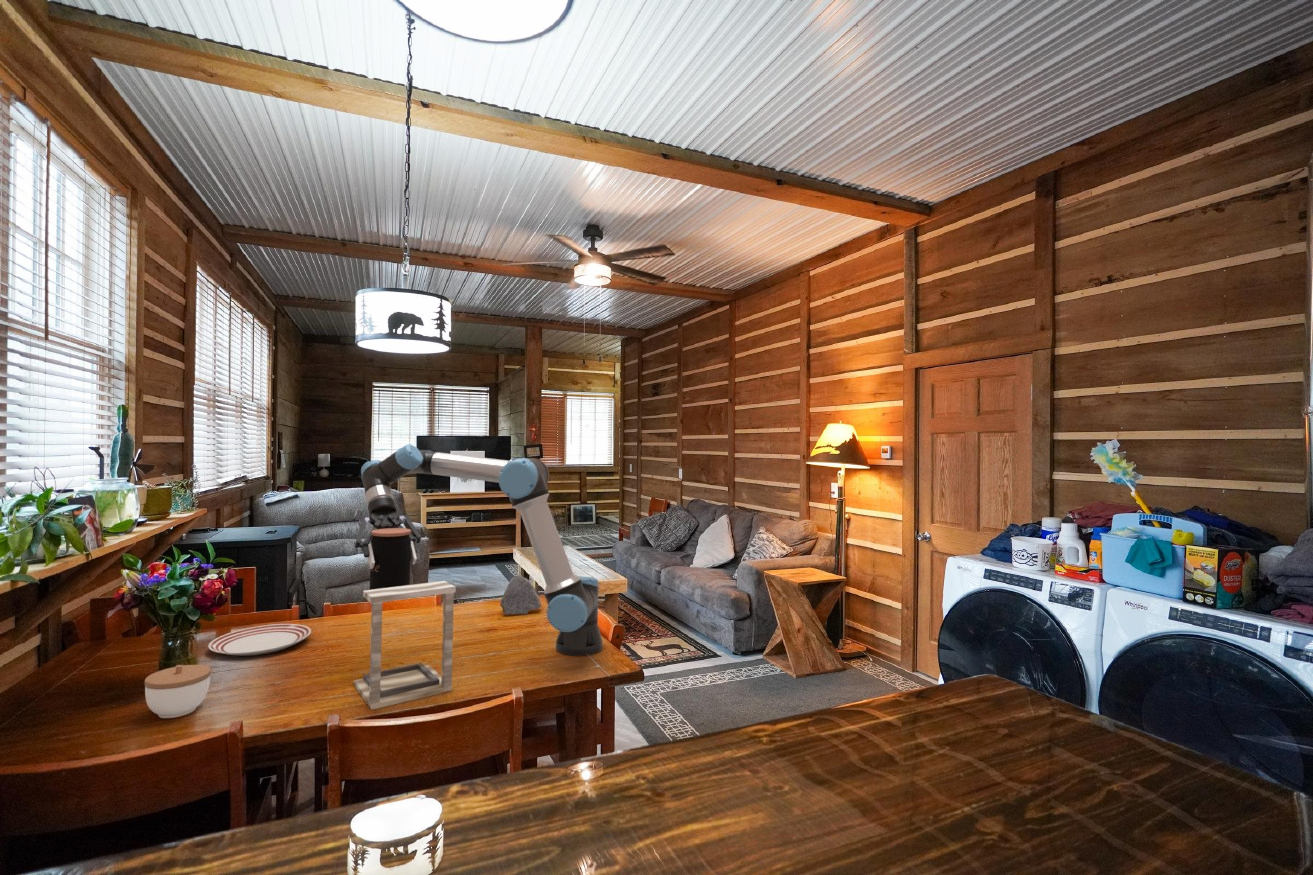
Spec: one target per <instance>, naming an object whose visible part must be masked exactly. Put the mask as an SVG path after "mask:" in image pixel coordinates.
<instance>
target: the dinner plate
mask: <svg viewBox="0 0 1313 875" xmlns="http://www.w3.org/2000/svg"><path fill="white" fill-rule="evenodd" d="M311 633H312V629H311V628H310V627H308V626H307V625H303V624H296V623H295V624H294V623H276V624H275V623H274V624H266V625H259V626H252V627H247V628H243V629H242V628H241V629H239V630H235V631H232V632H229V633H225V634H224V635H223V634H222V635H221V636H218V637H217V638H215V639H213V640H211V641H210V642H209V643H208V645H207V648H208V649H209V650H210V651H211V652H213V653H216V654H217V653H218V654H221V655H222V654H224V655H228V656H229V655H230V656H240V657H241V656H242V657H247V656H248V657H249V656H258V655H266V654H271V653H276V652H279V651H282V650H286V649H287V648H289V647H292V646H293V645H296V644H299V643H300V642H302V641H303V640H305V639H306V638H307V637H309V635H311Z"/></svg>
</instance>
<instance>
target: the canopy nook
mask: <svg viewBox="0 0 1313 875" xmlns="http://www.w3.org/2000/svg"><path fill="white" fill-rule="evenodd" d="M455 593H457V586H455V585H453V584H452V583H451V582H448V581H446V580H441V581H438V580H437V581H433V582H423V583H422V582H421V583H416V584H415V583H413V584H410V585H406V586H398V587H390V588H382V589H373V590H369V589H368V590H367V589H366V590H363V592H362V597H363V598H364V599H365V600H366V601H368V602H369V603H370V604H371V610H370V611H371V615H370V618H371V619H370V620H371V621H370V624H371V625H370V648H369V649H370V655H369V657H370V658H369V673H365V674H363V675H362V676H363V677H362V678H360V679H355V680H353V686H354V688H355V689H356V691H357V692H358V693H359V695H360V697H362V699H363V700H364V702H365V703H366V704H367V706H368V707H369V708H370V710H372V711H373V710H377V709H381V708H384V707H385V708H386V707H390V706H393V705H397V704H402V703H405V702H406V703H407V702H411V701H414V700H419V699H422V698H427V697H431V696H435V695H440V694H444V693H448V692H453V685H452V683H453V682H452V679H453V647H454V646H453V638H454V636H453V635H454V605H455V604H454V601H455V600H454V599H455V597H454V596H455ZM438 595H443V607H442V609H443V611H442V616H443V617H442V620H443V621H442V644H441V646H442V649H441V650H442V651H441V652H442V655H441V656H442V657H441V674H440V673H438V672H437V671H436V670H435V669H434V668H433V667H431V665H430V664H428V665H424V664H423V663H422V662H419V663H414V664H408V665H403V666H399V667H394V668H390V669H385V670H381V668H382V632H383V628H382V627H383V625H382V624H383V603H387V602H393V601H400V600H408V599H415V598H417V599H418V598H425V597H431V596H438Z"/></svg>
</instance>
